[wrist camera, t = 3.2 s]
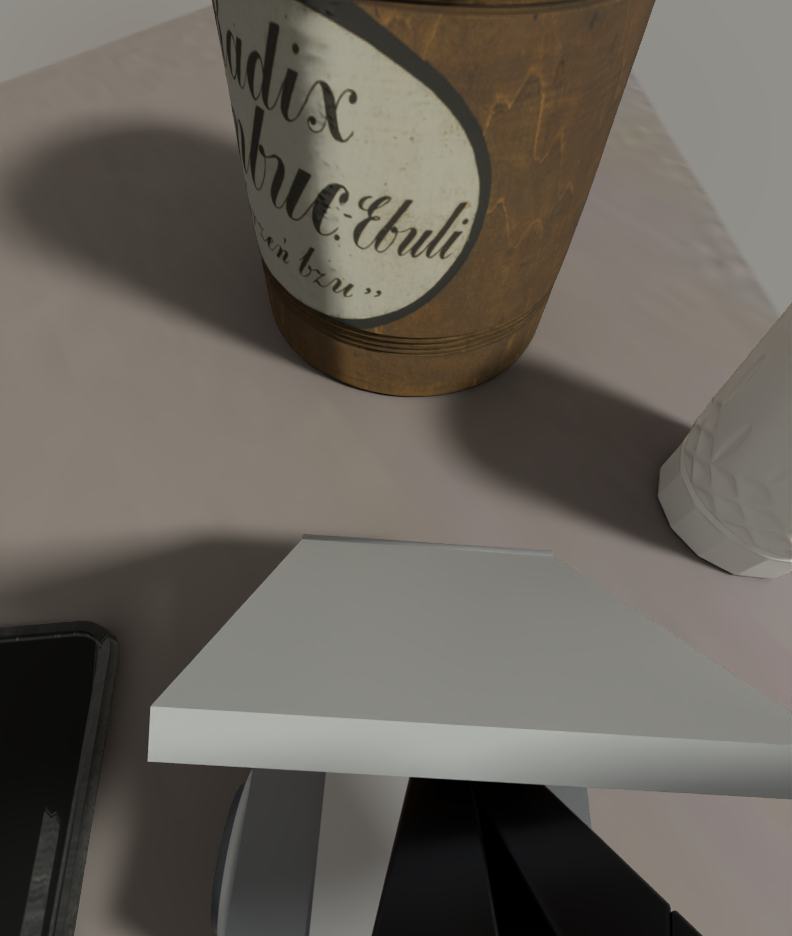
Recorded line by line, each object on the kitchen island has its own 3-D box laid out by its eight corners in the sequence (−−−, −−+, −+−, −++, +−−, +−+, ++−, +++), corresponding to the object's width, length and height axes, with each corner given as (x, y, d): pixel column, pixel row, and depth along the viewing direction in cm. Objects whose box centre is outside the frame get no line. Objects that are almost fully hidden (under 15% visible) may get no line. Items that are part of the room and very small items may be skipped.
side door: (838, 810, 6) (846, 739, 6) (147, 771, 5) (150, 696, 5) (546, 574, 16) (548, 548, 16) (304, 558, 16) (305, 532, 16)
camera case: (553, 1017, 14) (626, 1112, 10) (222, 1001, 14) (167, 1091, 10) (523, 616, 20) (563, 578, 16) (286, 601, 20) (267, 558, 16)
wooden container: (218, 275, 29) (-64, -686, 10) (418, 186, 34) (486, -546, 15) (387, 453, 23) (488, -903, 4) (593, 314, 29) (1034, -569, 10)
